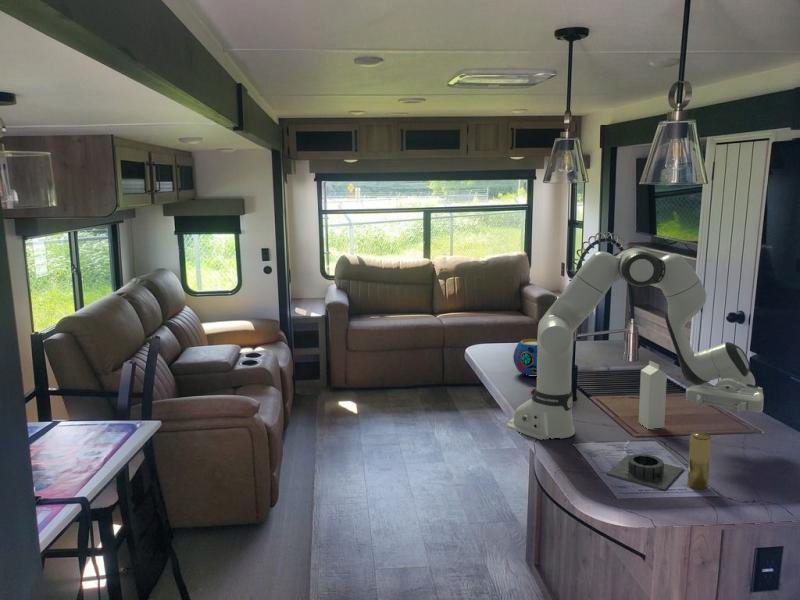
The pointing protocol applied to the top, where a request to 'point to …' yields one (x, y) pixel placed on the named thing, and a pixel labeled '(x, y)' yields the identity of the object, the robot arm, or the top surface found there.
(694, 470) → the cylinder
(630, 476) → the square socket base
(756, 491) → the top surface
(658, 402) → the milk
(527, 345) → the ceramic pot
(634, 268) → the robot arm
